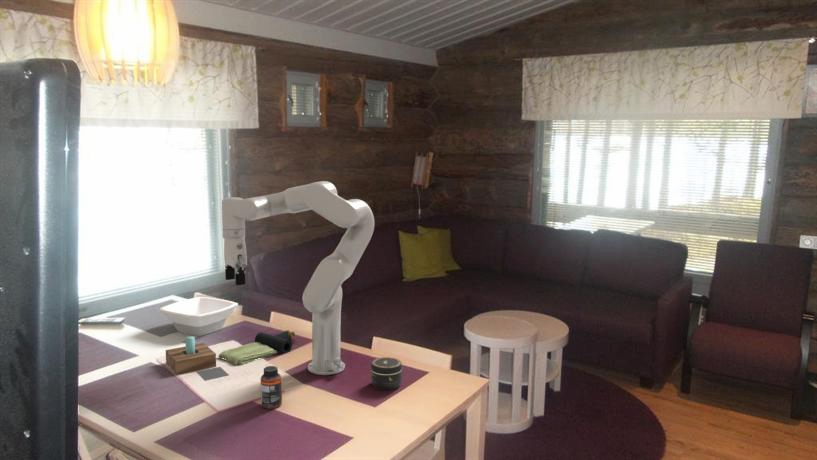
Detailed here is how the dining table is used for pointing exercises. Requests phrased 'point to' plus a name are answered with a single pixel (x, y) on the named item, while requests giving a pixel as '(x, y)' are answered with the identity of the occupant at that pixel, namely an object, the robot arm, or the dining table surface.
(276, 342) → the pipe connector
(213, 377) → the mat
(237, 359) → the washcloth
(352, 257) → the robot arm
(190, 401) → the dining table surface
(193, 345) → the peg
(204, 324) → the bowl
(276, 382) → the supplement bottle
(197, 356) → the hole block
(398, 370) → the jar
